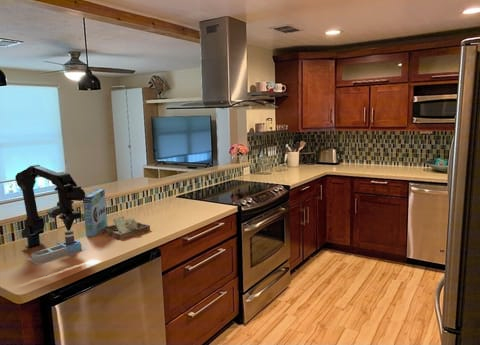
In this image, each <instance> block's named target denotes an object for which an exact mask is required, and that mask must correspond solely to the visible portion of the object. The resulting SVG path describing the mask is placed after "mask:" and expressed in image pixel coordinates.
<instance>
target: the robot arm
mask: <svg viewBox="0 0 480 345" xmlns="http://www.w3.org/2000/svg"><path fill="white" fill-rule="evenodd" d="M37 177H40V178H43V179H45V180H48V181H49V182H51V184H52V185H53V186H56V187H55V188H53V190H54V191H56V192H57V197H58V201H57V202H56V205H55V206H53V207H51V208H50V209H48V210H46V213H47V215H48V217H49V218H52V219H55V218H58V219H59V220H62V222H63V224H64V226H65V228H66V230H67V232H68V231H71V230H72V226H73V223H74V221H75V220H78V219H82V218H83V215H82V212H80V211H76V210H75V208H73V204H74V203H75V202H74V201H77V202H81V201H82V202H83V199H84V198H85V196H86V192H85V190H84V189H82V186H78V184H77V183H76V181H75V180H74V178H73V177H72V176H71V174H70V173H68V172H57V171H55V170H51V169H48V168H46V167H44V166H41V165H40V164H34V165H29V166H28V167H27V168H25V169H24V170H22V171H19V172H17V173H16V175H15V183H16V185H17V186H18V187H19V188H20V189H21V191H22V197H23V202H24V207H25V213H26V219H25V221H24V229H23V230H22V232H21V234H20V235H21V237H22V238H24V239H26V240H27V241H26V242H27V245H25V248H27V249H34V248H36V247H40V246H43V245H44V244H43V243H41V238H40V234H43V233H44V229H45V222H44V220H45V218H44V217H40V216H39V213H38V206H37V202H36V195H35V191H34V186H35V185H36V178H37Z"/></svg>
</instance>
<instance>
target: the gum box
mask: <svg viewBox="0 0 480 345" xmlns="http://www.w3.org/2000/svg"><path fill="white" fill-rule="evenodd" d="M105 194H106V193H105V189H99V188H98V189H95V190H93V191H92V192H90V193H88V194H85V198H84V199H83V200H82V207H83V217H84V227H85V237H87V238H88V237H92V238H93V237H96V236H97V235H98V234H99V233H100V232H102V228H105V227H108V218H107V217H108V216H107V204H106V203H107V202H106V197H105V196H106V195H105Z"/></svg>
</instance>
